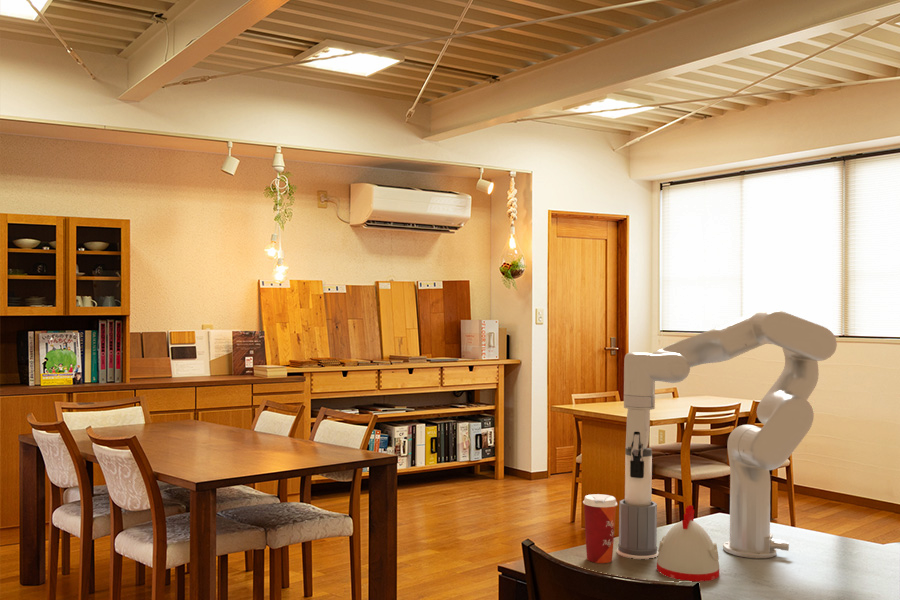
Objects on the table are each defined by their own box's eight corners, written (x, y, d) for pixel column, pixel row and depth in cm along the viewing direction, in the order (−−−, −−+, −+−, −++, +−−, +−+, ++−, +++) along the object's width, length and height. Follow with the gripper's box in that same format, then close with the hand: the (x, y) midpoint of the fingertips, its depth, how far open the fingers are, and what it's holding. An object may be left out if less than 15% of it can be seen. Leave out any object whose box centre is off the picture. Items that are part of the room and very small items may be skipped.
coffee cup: (616, 566, 196) (617, 502, 196) (581, 563, 198) (582, 500, 198) (616, 555, 204) (617, 494, 204) (582, 553, 206) (583, 492, 206)
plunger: (654, 518, 208) (654, 448, 208) (647, 523, 202) (648, 451, 202) (628, 514, 211) (629, 445, 211) (621, 520, 205) (622, 449, 205)
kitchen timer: (724, 568, 195) (725, 504, 195) (712, 585, 183) (713, 517, 183) (665, 559, 202) (666, 497, 202) (649, 575, 190) (650, 509, 190)
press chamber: (662, 551, 208) (663, 501, 209) (652, 561, 200) (652, 509, 200) (623, 545, 213) (624, 496, 213) (611, 555, 204) (612, 504, 204)
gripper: (627, 398, 216) (626, 467, 216) (619, 405, 200) (618, 480, 199) (657, 399, 214) (656, 469, 214) (651, 406, 197) (651, 482, 197)
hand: (638, 474), depth 207 cm, fingers closed on plunger, 6 cm apart
